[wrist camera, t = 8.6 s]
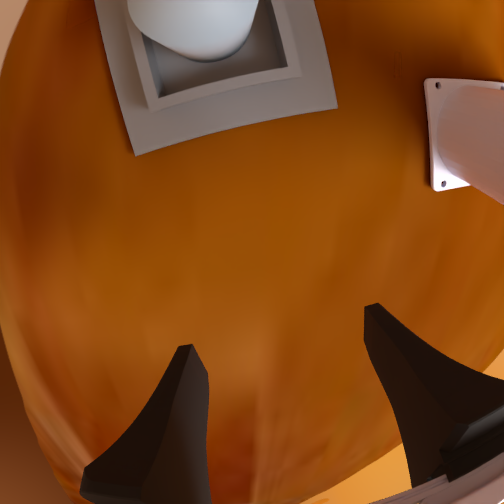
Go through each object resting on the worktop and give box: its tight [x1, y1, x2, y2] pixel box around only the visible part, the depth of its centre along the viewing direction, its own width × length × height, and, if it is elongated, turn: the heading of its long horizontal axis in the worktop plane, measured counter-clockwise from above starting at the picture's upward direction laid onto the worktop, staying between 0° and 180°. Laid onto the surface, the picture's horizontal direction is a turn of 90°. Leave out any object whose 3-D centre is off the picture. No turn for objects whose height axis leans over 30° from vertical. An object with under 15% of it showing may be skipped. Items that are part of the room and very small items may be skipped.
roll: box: [127, 0, 259, 63], centre depth 10 cm, size 4×4×7 cm
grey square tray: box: [95, 0, 338, 156], centre depth 13 cm, size 12×12×3 cm
